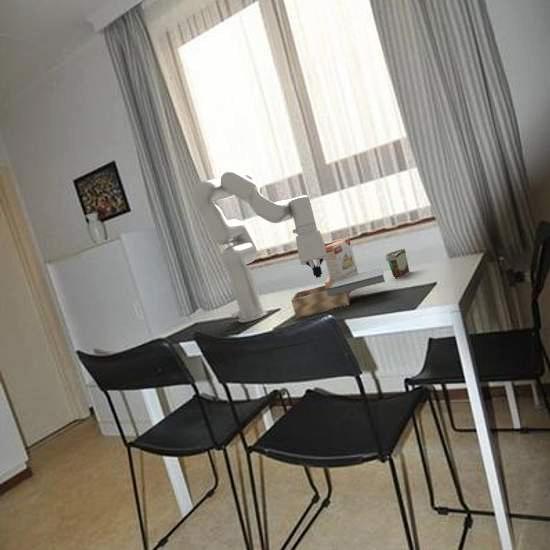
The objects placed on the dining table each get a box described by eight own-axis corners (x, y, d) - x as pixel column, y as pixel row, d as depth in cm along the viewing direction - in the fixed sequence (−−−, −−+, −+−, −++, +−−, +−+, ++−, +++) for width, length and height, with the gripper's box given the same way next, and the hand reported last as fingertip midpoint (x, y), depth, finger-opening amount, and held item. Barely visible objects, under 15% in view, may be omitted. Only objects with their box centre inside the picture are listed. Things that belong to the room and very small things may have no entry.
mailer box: (296, 317, 173) (291, 300, 172) (301, 309, 185) (296, 292, 184) (349, 305, 168) (343, 286, 167) (350, 297, 181) (345, 280, 180)
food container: (397, 273, 201) (391, 251, 199) (410, 271, 197) (404, 248, 196) (386, 281, 191) (380, 257, 190) (400, 278, 187) (394, 255, 186)
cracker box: (347, 295, 186) (333, 245, 183) (334, 297, 190) (320, 248, 187) (362, 285, 196) (349, 237, 194) (350, 287, 200) (337, 240, 198)
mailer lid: (328, 296, 168) (324, 283, 168) (331, 287, 182) (328, 276, 182) (384, 281, 163) (381, 269, 163) (383, 274, 178) (380, 263, 177)
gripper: (285, 235, 171) (298, 283, 173) (325, 225, 168) (337, 274, 170) (289, 233, 178) (300, 279, 181) (327, 223, 175) (338, 270, 177)
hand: (318, 276), depth 175 cm, fingers closed
